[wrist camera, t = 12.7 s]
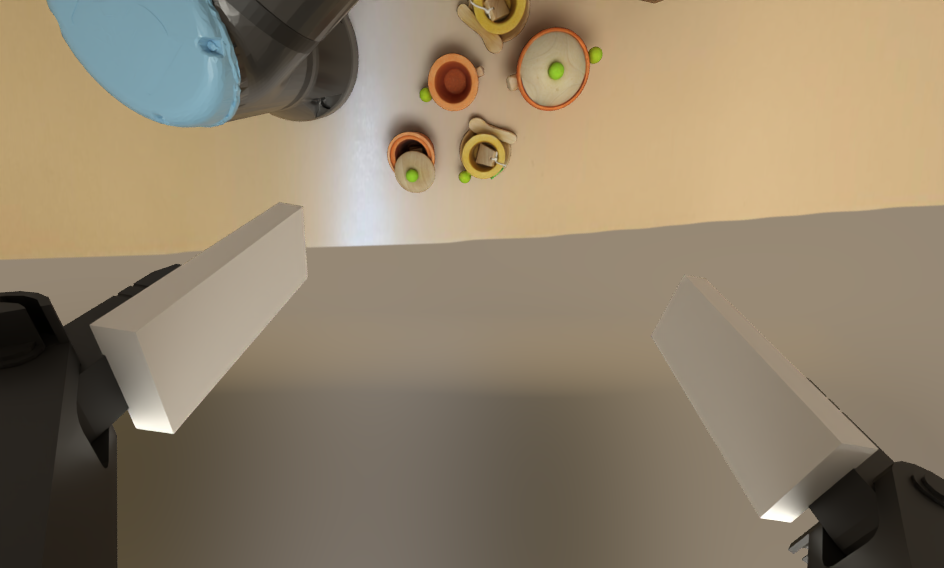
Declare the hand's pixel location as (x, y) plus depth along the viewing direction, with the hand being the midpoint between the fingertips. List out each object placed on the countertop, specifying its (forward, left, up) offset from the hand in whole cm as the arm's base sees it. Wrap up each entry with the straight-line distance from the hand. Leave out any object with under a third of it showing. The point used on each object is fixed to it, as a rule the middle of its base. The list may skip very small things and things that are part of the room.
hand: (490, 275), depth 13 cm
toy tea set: (-1, +2, -39) cm, 39 cm away
